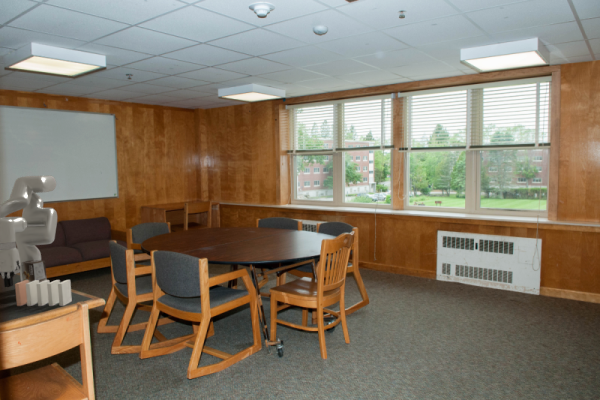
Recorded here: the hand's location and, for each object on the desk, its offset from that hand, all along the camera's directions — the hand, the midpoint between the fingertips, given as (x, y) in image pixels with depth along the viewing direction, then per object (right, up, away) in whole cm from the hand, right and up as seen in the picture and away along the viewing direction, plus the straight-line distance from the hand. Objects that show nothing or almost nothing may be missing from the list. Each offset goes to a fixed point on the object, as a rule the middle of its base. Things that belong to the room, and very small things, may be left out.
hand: (8, 286), depth 186 cm
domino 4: (+21, -8, 0) cm, 22 cm away
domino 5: (+26, -8, 0) cm, 27 cm away
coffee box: (+2, -7, +16) cm, 17 cm away
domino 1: (+6, -8, +1) cm, 10 cm away
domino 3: (+16, -8, 0) cm, 18 cm away
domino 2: (+11, -8, +1) cm, 14 cm away
